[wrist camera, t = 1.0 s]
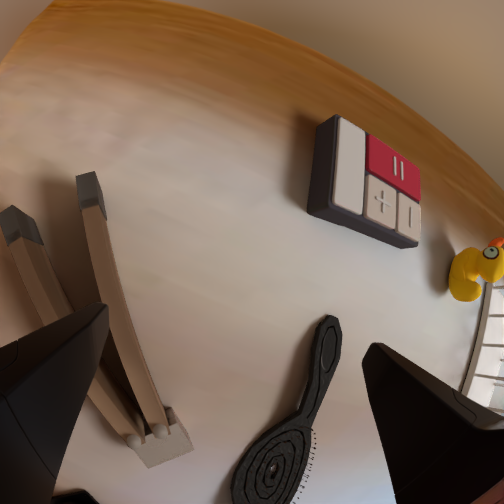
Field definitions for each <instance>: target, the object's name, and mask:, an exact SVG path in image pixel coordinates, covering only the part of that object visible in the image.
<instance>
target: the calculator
mask: <svg viewBox="0 0 504 504" xmlns="http://www.w3.org/2000/svg"><path fill="white" fill-rule="evenodd" d="M420 200H421V194H420V170H419V168H418V167H416V166H415V165H414V164H412V163H411V162H410V161H408V160H407V159H406V158H404V157H403V156H402V155H400V154H399V153H397V152H396V151H395V150H393V149H392V148H390V147H389V146H388V145H386V144H385V143H383V142H382V141H380V140H379V139H377V138H376V137H374V136H373V135H371V134H368V133H367V132H365V131H364V130H362V129H361V128H359V127H357V126H356V125H354V124H353V123H351V122H349V121H348V120H346V119H344V118H343V117H341V116H339V115H337V114H335V115H334V116H332V117H331V118H329V119H328V120H326V121H325V122H323V123H322V124H320V125H319V126H318V127H317V129H316V139H315V148H314V156H313V165H312V173H311V181H310V189H309V197H308V204H307V212H308V214H309V215H312V216H314V217H317V218H320V219H323V220H326V221H329V222H331V223H334V224H337V225H341V226H345V227H348V228H350V229H353V230H355V231H358V232H360V233H363V234H365V235H367V236H370V237H372V238H375V239H377V240H380V241H382V242H385V243H387V244H390V245H392V246H395V247H397V248H400V249H405V248H413V247H417V246H418V242H419V241H420V227H421V207H420V205H419V201H420Z"/></svg>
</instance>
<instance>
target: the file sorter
mask: <svg viewBox="0 0 504 504" xmlns="http://www.w3.org/2000/svg"><path fill="white" fill-rule="evenodd" d="M498 289H504V286H496V285H495V284H494V283H489V282H487V285H486V292H485V299H484V305H483V311H482V317H481V322H480V327H479V331H478V336H477V340H476V344H475V348H474V352H473V356H472V360H471V363H470V367H469V370H468V374H467V377H466V380H465V383H464V386H463V389H462V392H461V394H463V395H465V396H466V397H468V398H469V399H471V400H473V401H475V402H476V403H478V404H480V405H482V406H484V407H486V408H487V409H489V410H491V411H495V412H501V413H504V410H502V409H496V408H490V407H488V406H489V403H490V400H491V396H492V393H493V390H494V387H495V386H503V387H504V384H499V383H496V380H502V381H504V377H498V373H499V369H500V365H501V361H504V359H502V357H503V353H504V297H503V295H502V294H501V292H500V291H499V290H498Z"/></svg>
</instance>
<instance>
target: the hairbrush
mask: <svg viewBox="0 0 504 504" xmlns="http://www.w3.org/2000/svg"><path fill="white" fill-rule="evenodd" d="M320 323H321V322H320ZM320 323H319V324H318V326H317V327H316V331H315V335H314V340H313V344H312V348H311V357H310V367H309V377H308V382H307V385H306V388H305V391H304V394H303V397H302V400H301V403H300V406H299V409H298V410H297V411H296V412H294V413H293V414H292V415H290V416H289V417H288V418H286V419H285V420H283V421H282V422H280V423H279V424H277V425H276V426H274V427H272V428H271V429H269V430H270V431H269V430H268V431H269V432H267V431H266V432H267V433H266V432H265V433H266V434H265V435H263V434H264V433H263V434H262V435H263V436H262V435H261V436H262V437H261V436H260V437H261V438H259V439H258V440H256V441H255V442H254V443H253V444H252V446H251V447H250V448H249V450H248V451H247V452H246V453H245V455H244V456H243V457H242V459H241V460H240V462H239V464H238V466H237V469H236V470H235V472H234V474H233V478H232V483H231V487H230V489H231V494H232V501H233V504H248V501H249V503H250V504H290V502H291V500H292V499H293V497H294V495H295V493H296V492H297V491H298V490H297V489H298V487H299V484H300V481H301V479H302V476H303V474H304V471H305V468H306V466H307V462H308V457H309V452H310V447H311V430H312V431H313V429H311V427H312V424H313V422H314V419H315V417H316V414H317V412H318V410H319V407H320V405H321V403H322V401H323V398H324V396H325V394H326V391H327V389H328V386H329V384H330V382H331V379H332V377H333V375H334V372H335V370H336V367H337V365H338V362H339V360H340V355H341V345H342V331H341V327H340V324H339V320H338V318H336V317H334V316H332V315H328V316H326V317H325V319H324V320H323V322H322V323H321V325H320ZM328 326H331V327H330V328H328ZM296 429H297V430H299V431H300V432H301V434H300V432H299V431H297V430H296ZM314 434H315V433H314ZM302 436H303V437H302ZM314 439H316V438H314ZM286 440H290V441H291V442H289V441H286ZM291 443H292V444H291ZM315 444H316V443H315ZM292 445H293V447H292ZM293 448H294V450H293ZM314 449H316V448H315V447H314ZM310 453H311V452H310ZM312 454H314V453H312ZM281 455H283V456H284V459H283V457H282V456H281ZM312 458H314V457H312ZM312 458H311V459H312ZM312 460H313V459H312ZM276 462H277V467H276V470H275V473H274V474H273V475H272V477H270V476H271V472H272V471H271V467H272V466H273V465H274V464H275V463H276ZM310 465H312V464H310ZM310 468H311V467H310ZM308 470H309V469H308ZM309 471H311V470H309ZM305 475H306V474H305ZM307 476H309V475H307ZM305 477H306V476H305ZM307 478H308V477H307ZM262 480H263V482H264V483H263V482H262ZM302 480H303V479H302ZM305 482H307V481H305ZM254 487H255V488H254ZM243 488H244V491H243ZM302 488H304V486H302ZM255 490H256V491H257V492H256V491H255ZM257 493H258V494H259V495H257ZM300 493H302V492H300ZM246 498H247V499H246ZM297 498H298V497H297ZM298 499H299V498H298ZM247 500H248V501H247ZM293 503H294V502H293ZM294 504H295V503H294Z"/></svg>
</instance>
